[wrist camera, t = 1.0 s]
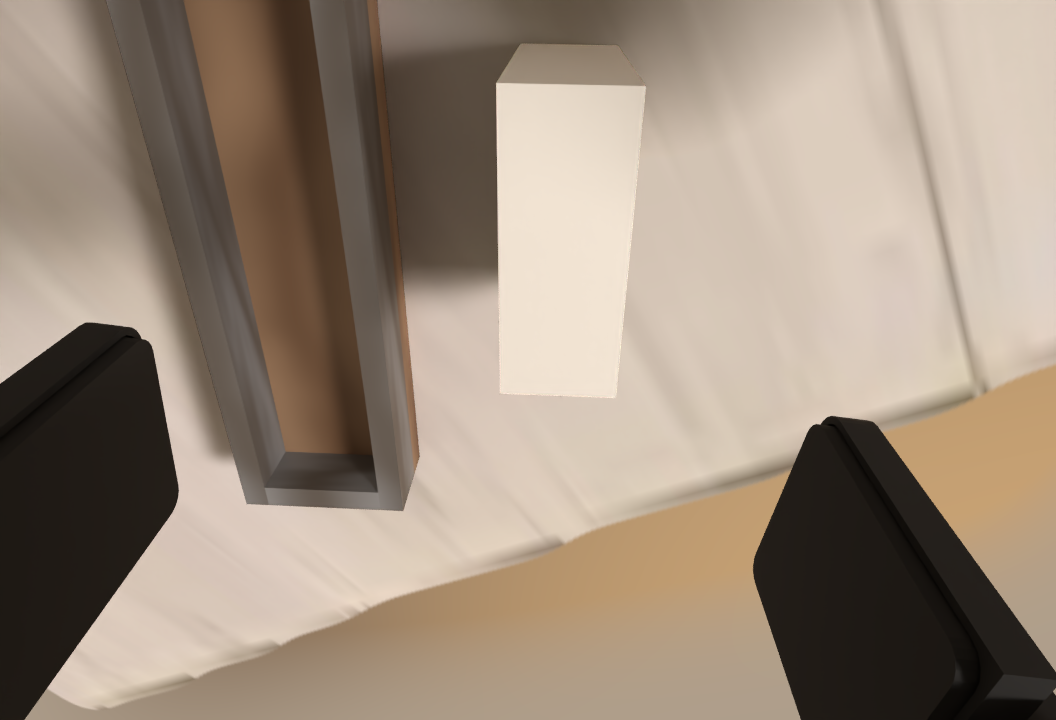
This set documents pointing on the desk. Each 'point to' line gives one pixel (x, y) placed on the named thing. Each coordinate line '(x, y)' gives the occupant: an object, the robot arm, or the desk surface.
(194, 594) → the desk surface
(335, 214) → the door track
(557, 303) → the white rectangular box
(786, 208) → the desk surface
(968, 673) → the robot arm
